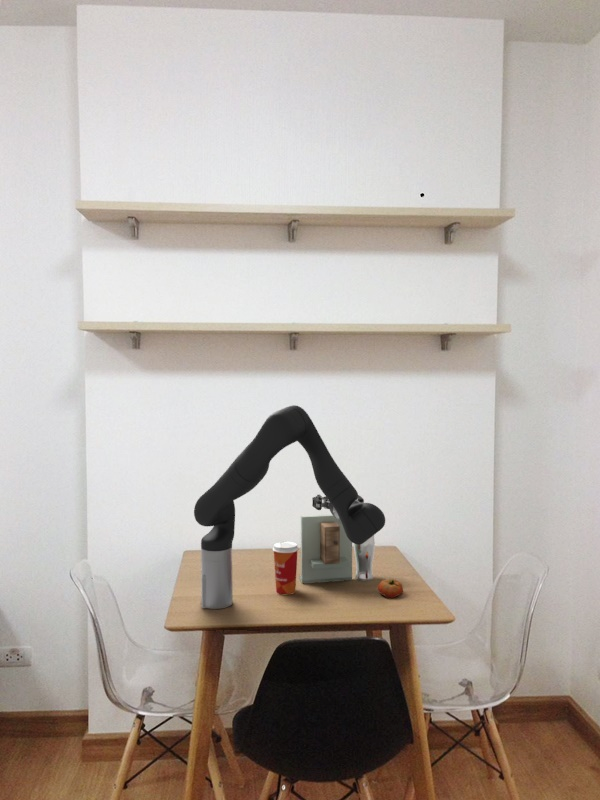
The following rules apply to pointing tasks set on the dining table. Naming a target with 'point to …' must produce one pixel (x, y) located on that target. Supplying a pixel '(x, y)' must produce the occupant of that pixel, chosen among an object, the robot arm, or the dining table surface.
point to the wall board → (310, 552)
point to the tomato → (390, 588)
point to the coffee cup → (285, 566)
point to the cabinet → (330, 543)
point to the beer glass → (364, 559)
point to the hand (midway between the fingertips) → (332, 497)
